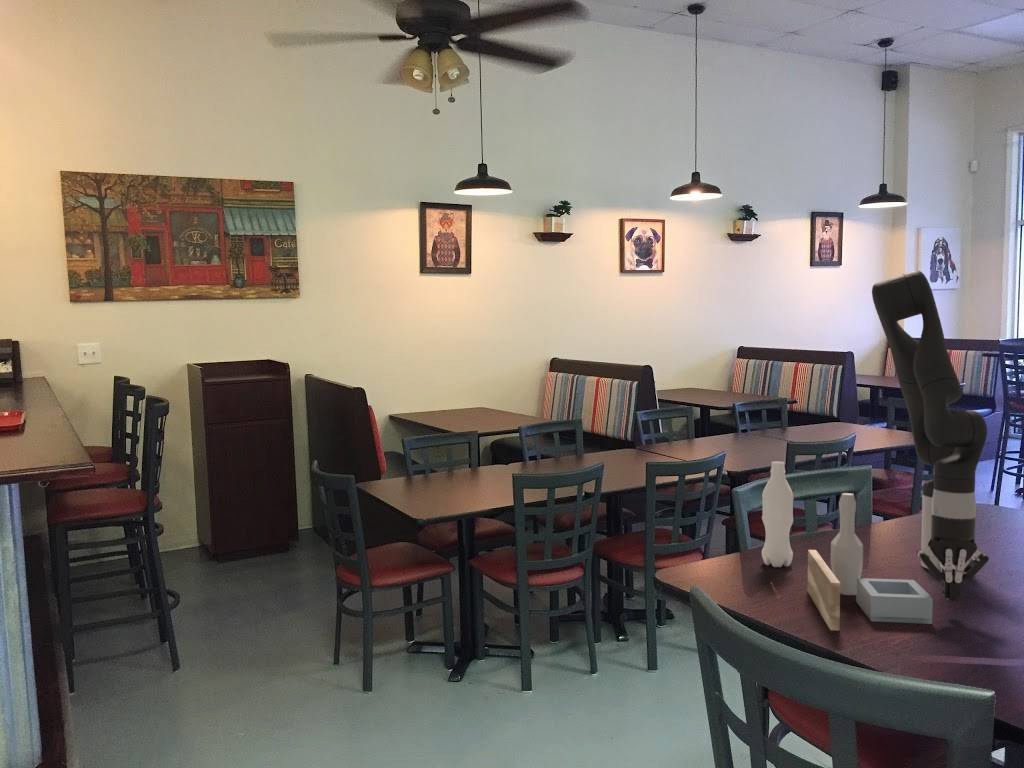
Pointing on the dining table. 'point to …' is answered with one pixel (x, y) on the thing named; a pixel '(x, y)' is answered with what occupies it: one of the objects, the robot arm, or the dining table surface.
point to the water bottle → (777, 517)
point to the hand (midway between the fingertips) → (950, 599)
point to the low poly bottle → (847, 548)
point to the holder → (894, 600)
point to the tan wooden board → (824, 589)
